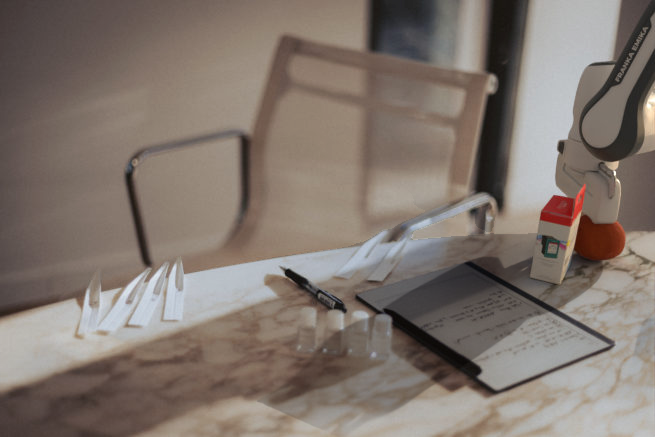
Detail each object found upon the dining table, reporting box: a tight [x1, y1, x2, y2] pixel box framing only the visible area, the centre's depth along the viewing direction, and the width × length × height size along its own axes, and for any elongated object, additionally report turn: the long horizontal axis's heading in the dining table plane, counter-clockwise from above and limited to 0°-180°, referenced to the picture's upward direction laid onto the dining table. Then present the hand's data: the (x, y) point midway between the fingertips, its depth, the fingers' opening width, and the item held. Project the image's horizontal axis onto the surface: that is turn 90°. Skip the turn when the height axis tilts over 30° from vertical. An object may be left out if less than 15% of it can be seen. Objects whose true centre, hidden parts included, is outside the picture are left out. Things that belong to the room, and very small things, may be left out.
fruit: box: [573, 215, 627, 261], centre depth 105 cm, size 9×9×8 cm
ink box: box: [529, 184, 586, 285], centre depth 99 cm, size 8×5×15 cm, turn 149°
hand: (577, 227), depth 113 cm, fingers closed
